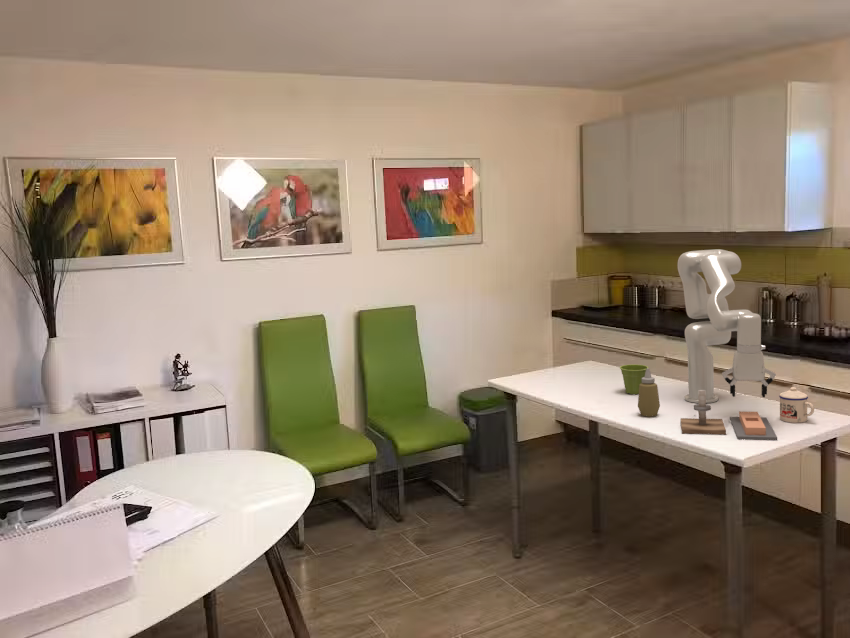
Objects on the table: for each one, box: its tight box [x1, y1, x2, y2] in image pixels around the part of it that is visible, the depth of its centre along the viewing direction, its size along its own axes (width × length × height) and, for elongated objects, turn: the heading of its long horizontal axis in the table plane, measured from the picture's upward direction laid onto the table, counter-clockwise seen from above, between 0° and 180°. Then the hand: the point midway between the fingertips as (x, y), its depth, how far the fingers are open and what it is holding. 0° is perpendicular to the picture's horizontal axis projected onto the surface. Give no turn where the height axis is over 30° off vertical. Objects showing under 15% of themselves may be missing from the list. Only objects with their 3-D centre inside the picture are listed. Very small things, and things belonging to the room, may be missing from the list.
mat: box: [729, 416, 778, 441], centre depth 244 cm, size 24×12×1 cm, turn 162°
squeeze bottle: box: [637, 367, 661, 418], centre depth 269 cm, size 8×8×18 cm
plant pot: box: [619, 363, 649, 395], centre depth 304 cm, size 12×12×11 cm
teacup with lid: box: [778, 386, 815, 424], centre depth 250 cm, size 12×9×12 cm
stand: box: [680, 390, 727, 436], centre depth 248 cm, size 14×14×14 cm
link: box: [738, 411, 766, 435], centre depth 244 cm, size 20×6×2 cm, turn 162°
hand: (748, 396), depth 250 cm, fingers open, 9 cm apart
